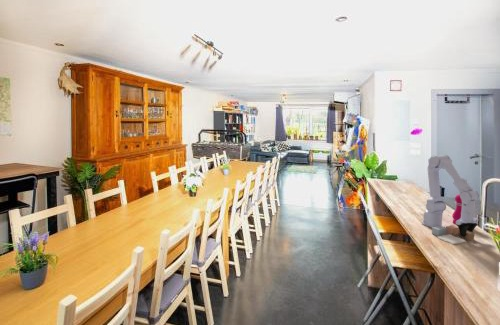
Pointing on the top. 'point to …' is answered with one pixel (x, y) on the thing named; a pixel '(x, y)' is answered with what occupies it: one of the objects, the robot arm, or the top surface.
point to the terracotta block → (452, 229)
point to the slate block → (439, 231)
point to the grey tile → (451, 239)
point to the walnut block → (467, 235)
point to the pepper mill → (457, 209)
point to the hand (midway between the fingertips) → (465, 235)
